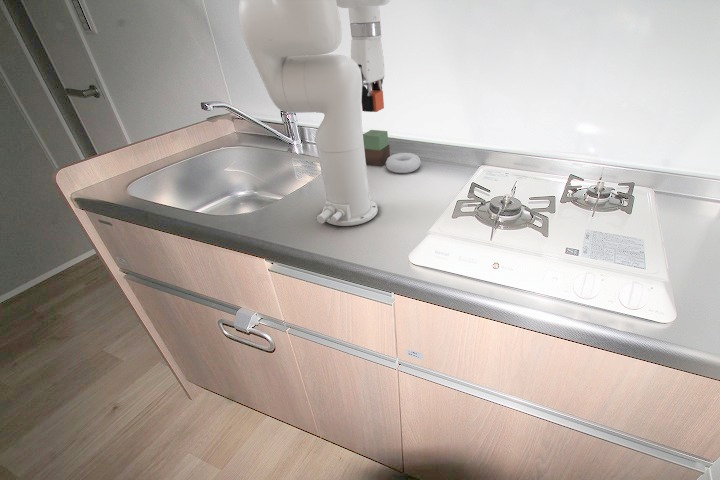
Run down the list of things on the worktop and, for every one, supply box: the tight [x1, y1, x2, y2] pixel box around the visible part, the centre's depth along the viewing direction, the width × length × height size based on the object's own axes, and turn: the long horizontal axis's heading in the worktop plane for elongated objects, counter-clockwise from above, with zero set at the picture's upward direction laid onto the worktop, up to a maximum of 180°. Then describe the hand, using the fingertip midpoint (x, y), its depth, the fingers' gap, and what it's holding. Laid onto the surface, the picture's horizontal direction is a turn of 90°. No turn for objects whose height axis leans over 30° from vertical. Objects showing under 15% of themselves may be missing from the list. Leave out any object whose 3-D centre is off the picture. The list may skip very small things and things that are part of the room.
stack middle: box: [363, 129, 389, 151], centre depth 106 cm, size 6×6×4 cm
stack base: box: [364, 144, 391, 167], centre depth 109 cm, size 6×6×4 cm
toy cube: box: [361, 89, 385, 113], centre depth 100 cm, size 4×4×4 cm
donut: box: [385, 152, 422, 174], centre depth 104 cm, size 10×4×10 cm
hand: (372, 108), depth 101 cm, fingers closed on toy cube, 4 cm apart
